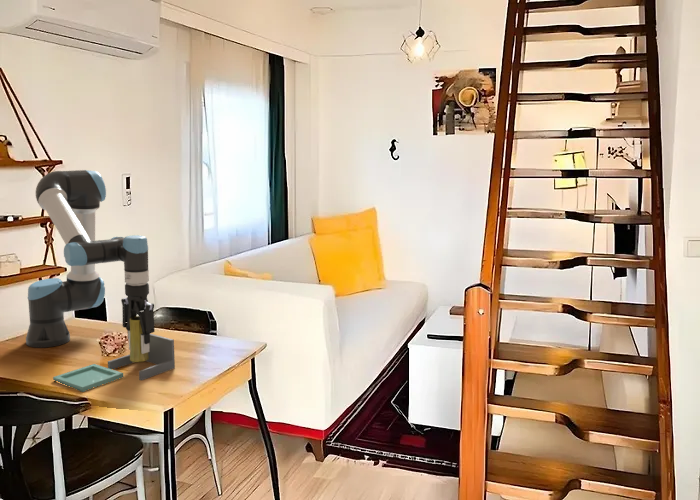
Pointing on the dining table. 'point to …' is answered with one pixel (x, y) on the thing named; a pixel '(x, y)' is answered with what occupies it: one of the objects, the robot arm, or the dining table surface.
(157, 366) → the dock
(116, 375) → the tray
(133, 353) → the vase
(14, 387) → the dining table surface
